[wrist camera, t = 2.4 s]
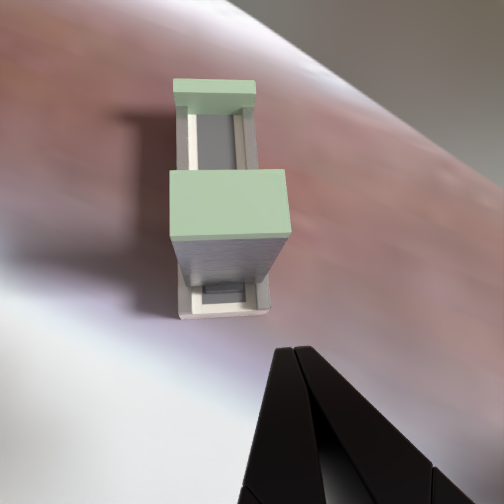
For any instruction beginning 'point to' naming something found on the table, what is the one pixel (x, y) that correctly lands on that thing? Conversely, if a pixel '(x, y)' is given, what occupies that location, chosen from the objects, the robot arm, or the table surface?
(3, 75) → the table surface
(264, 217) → the fader tab
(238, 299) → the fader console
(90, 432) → the table surface
